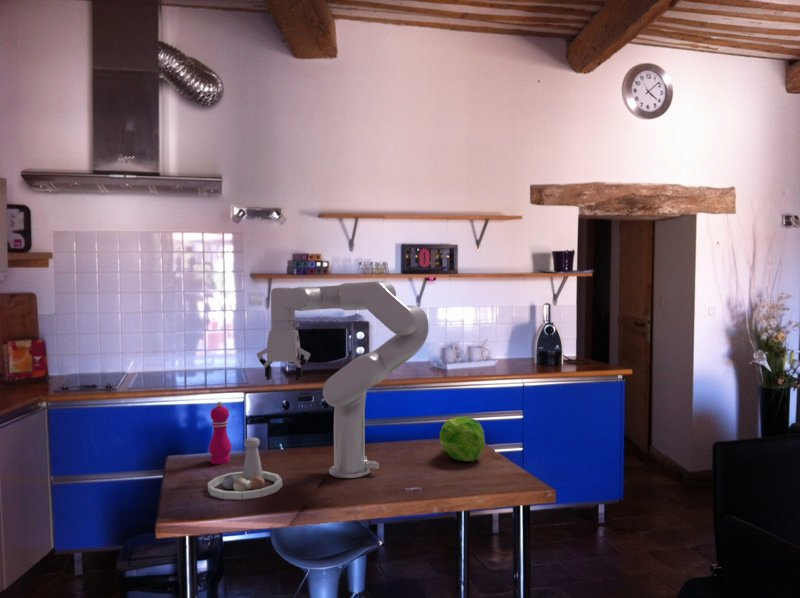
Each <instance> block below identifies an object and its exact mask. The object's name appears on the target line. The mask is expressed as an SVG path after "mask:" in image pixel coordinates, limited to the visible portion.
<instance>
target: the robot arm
mask: <svg viewBox="0 0 800 598" xmlns="http://www.w3.org/2000/svg"><path fill="white" fill-rule="evenodd" d="M333 309H334V310H335V309H337V310H339V309H340V310H343V311H363V310H367V311H368V312H370V314H372V315H373V316H374V318H376V319H377V320H378V321H379V322H380V323H381V324H383V325H384V326H385V327H386V328H387V329H388V330H390V331H391V332H392V333H394V335H393V336H392V337H391V338H389V339H388V340H386V341H385V342H384V343H383V344H381V345H380V346H378V347H377V348H376V349H374V350H373V351H370V352H368V353H365V354H362V355H361V354H360V355H359V356H357V357H356V358H354V359H352V360H351V361H350V362H348V363H347V364H346V365H345V366H343V367H342V368H340V369H339V370H337V372H335V373H334V374H333V375H331V376H330V377H329V378H327V380H326V381H325V383H324V385H323V387H322V397H323V399H324V401H325V402H326V403H327V404H328V405H329V406H331V407H334V411H333V465H332V466H331V467H330V468H329V469H328V471H329V472H328V473H329V475H330V476H333V477H335V478H339V479H340V478H341V479H354V478H362V477H364V476H367V475H368V474H369V473H370V472H371V469H378V470H379V467H380V466H379V461H376V460H369V459H368V456H367V455H366V450H365V449H366V448H365V435H366V434H365V430H366V429H365V422H366V421H365V417H366V416H365V415H366V414H365V411H366V409H365V407H366V398H367V390H369V389H370V388H372V387H373V386H375V385H377V384H379V383H381V382H382V381H384V380H385V379H386V378H387V377H388V376H389V375H391V374H392V373H393V372H394V371H396V370H398V368H400V367H401V366H402V365H403V364H405V363H406V362H407V361H409V360H410V359H411V358H413V357H414V356H415V355H416V354H417V353H418V352H419V351H420V350H421V348H423V345H425V343H426V341H427V338H428V335H429V331H430V330H429V327H430V324H429V319H428V316H427V314H426V312H425V311H424V310H423V309H422V308H421V307H420V306H417V305H405V304H404V303H403V302H402V301H400V299H398V298H397V291H396V289H395V287H394V286H393V284H391V283H390V282H388V281H384V280H377V281H374V280H373V281H364V282H363V281H361V282H344V283H341V284H339V285H326V286H325V285H324V286H298V287H293V288H292V287H274V288H272V289H271V290H270V321H271V322H270V325H271V327H270V329H269V330H268V335H267V342H266V343H267V344H266V348H264V349H262V350H261V351H259V352H257V353H256V357H257V358H258V360H259V363H261V365H262V366H263V367H264V377H265V378H266V380H267V381H269V380H271V379H272V377H273V376H272V366H271V364H273V362H274V363H275V362H276V363H280V362H283V363H284V362H285V363H288V362H289V363H292V362H293V363H294V364H295V365H296V368H295V380H296V381H299V380H301V378H302V377H303V366H305V364H306V363H307V362H308V360H309V358H310V356H311V353H310V352H309V351H306V350H304V349H303V348H301V343H300V336H299V330H298V329H296V328H297V327H300V322H298V321H296V312H297V311H298V312H304V311H314V310H315V311H316V310H333ZM265 354H266V359H267V360H266V359H265V358H264V355H265ZM301 355H303V359H302V360H300V359H301Z"/></svg>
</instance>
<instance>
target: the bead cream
mask: <svg viewBox="0 0 800 598" xmlns="http://www.w3.org/2000/svg"><path fill="white" fill-rule="evenodd" d="M233 487H234V488H233V490H234V491H240V492H243V491H248V489H247V488H248V482H247V480H246V479H244V478H238V479H237V480H235V482H234V485H233Z"/></svg>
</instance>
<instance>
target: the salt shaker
mask: <svg viewBox="0 0 800 598" xmlns="http://www.w3.org/2000/svg"><path fill="white" fill-rule="evenodd" d="M260 442H261V441H260V439H259V438H257V437H248V438H245V439H244V443H243V444H244V447H245V448H246V450H245V457H244V463H243V468H242V472H243V474H242V477H243V478H244V479H246V480H250V481H251V479H252V478H253V477H255V476H261V477H262V475H263V472H262V471H263V468H262V462H261V458H260V453H259V448H258V447H259V446H260Z"/></svg>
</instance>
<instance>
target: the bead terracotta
mask: <svg viewBox="0 0 800 598" xmlns="http://www.w3.org/2000/svg"><path fill="white" fill-rule="evenodd" d="M265 482H266V480H265V479H264V478H263V477H261V476H255V477H253V478H252V479H251V481H250V486H251V488H250V489H251V490H258V489H262V488H265V487H264V486H265Z"/></svg>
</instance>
